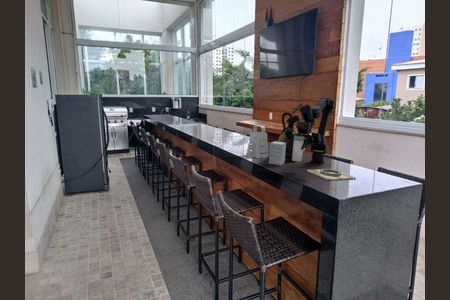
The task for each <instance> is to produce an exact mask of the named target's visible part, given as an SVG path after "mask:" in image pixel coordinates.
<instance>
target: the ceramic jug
mask: <svg viewBox="0 0 450 300" xmlns="http://www.w3.org/2000/svg"><path fill="white" fill-rule="evenodd" d="M286 116H289V117H288V118H287V120H286V122H285V117H286ZM301 119H302V118H300V116H298V115H296V114H295V115H293V114H292V112H290V111H285V112H283V114H281V122H282V123H281V124H282V130H281V134H280V135H279V138H278V139H277V141H276V142H284V143H286V150H285V161H293V160H292V154H293V148H292V140H289V139H287V137H286V135H285V131H286V130H293V131H294V132H296V133H298V132H297V130H296V129H295V126H294V124H296V123H297V121H299V122H302V120H301ZM286 123H287V126H286Z"/></svg>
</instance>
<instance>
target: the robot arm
mask: <svg viewBox="0 0 450 300" xmlns="http://www.w3.org/2000/svg"><path fill="white" fill-rule="evenodd" d="M336 107H337V104H336V102H335V100H333V99H331V98H330V97H328V96H325V97H324V96H322V97H320V98H319V100H318V101H317V102H316V103H315V104H314V105H313V106H311V105H310V104H305V105H303V106H302V107H300V108H299V112H300V115H301V119H302V120H303V121H297V122H296V123H295V128H296V132H297V133H296V132H294V131H293V130H286V131H285V135H286V137H287V139H289V140H292V148H293V144H294V136H295V135H298V136H304V143H303V145H302V148H301V149H302V150H303V151H304V149H306V148H307V147H309V146H310V152H311V153H312V154H311V159H309V161H310V162H313V163H314V164H323V163H324V164H325V163H326V161H324V159H325V155H326V154H328V153H327V152H328V147H327V142H326V139H325V136H326V132H327V129H328V126H329V122H330V121H329V120H330V117H331V115H333V114H334V113H335V112H334V111H335V110H336ZM320 117H321V118H320ZM319 118H320V122H319V126H318V128H317V132H313V130H312V129H313V128H314V127H315V125H316V120H318V119H319Z"/></svg>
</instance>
